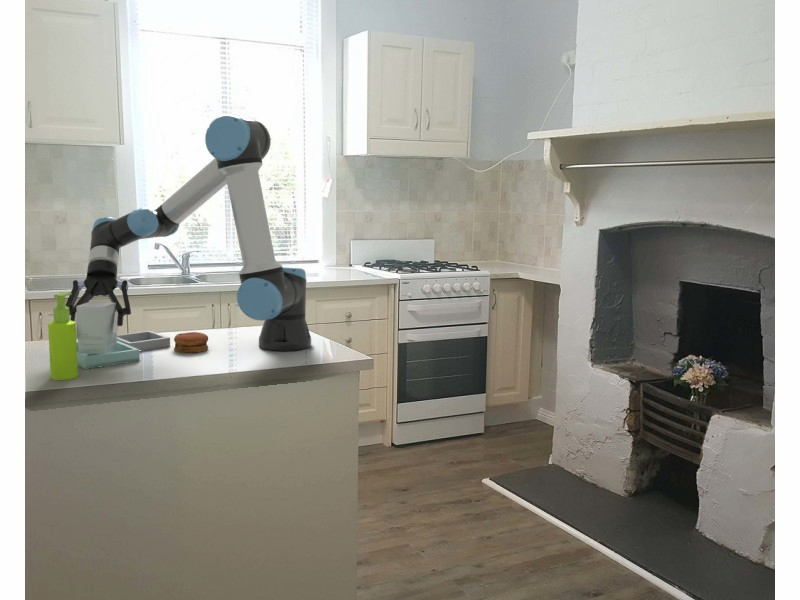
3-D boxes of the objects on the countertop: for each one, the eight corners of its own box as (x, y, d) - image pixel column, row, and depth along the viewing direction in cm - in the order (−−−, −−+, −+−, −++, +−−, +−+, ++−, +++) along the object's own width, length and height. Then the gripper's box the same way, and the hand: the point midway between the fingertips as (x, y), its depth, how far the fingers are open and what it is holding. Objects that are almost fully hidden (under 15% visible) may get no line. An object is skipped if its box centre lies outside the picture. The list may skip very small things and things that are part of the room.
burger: (209, 353, 199) (209, 336, 198) (174, 354, 196) (174, 338, 195) (207, 345, 208) (207, 329, 207) (173, 346, 205) (173, 330, 204)
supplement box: (118, 349, 192) (117, 302, 190) (104, 355, 185) (103, 307, 183) (91, 347, 193) (90, 300, 191) (77, 353, 185) (75, 305, 183)
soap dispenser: (83, 372, 175) (80, 291, 172) (71, 380, 168) (68, 295, 165) (59, 372, 175) (55, 290, 172) (46, 379, 168) (42, 295, 165)
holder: (170, 346, 205) (170, 337, 204) (129, 352, 196) (129, 343, 196) (150, 338, 213) (149, 330, 212) (110, 344, 204) (109, 335, 204)
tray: (139, 360, 188) (139, 349, 187) (85, 369, 178) (85, 357, 177) (109, 348, 200) (109, 337, 200) (57, 355, 190) (56, 344, 190)
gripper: (145, 274, 203) (141, 342, 190) (62, 274, 198) (52, 344, 185) (143, 258, 197) (138, 327, 184) (57, 257, 192) (46, 328, 179)
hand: (95, 335), depth 185 cm, fingers closed on supplement box, 9 cm apart
